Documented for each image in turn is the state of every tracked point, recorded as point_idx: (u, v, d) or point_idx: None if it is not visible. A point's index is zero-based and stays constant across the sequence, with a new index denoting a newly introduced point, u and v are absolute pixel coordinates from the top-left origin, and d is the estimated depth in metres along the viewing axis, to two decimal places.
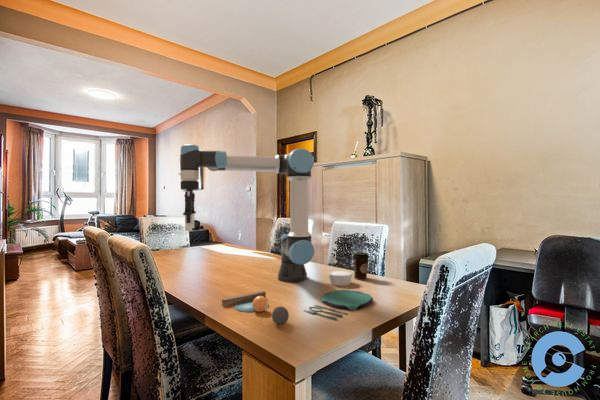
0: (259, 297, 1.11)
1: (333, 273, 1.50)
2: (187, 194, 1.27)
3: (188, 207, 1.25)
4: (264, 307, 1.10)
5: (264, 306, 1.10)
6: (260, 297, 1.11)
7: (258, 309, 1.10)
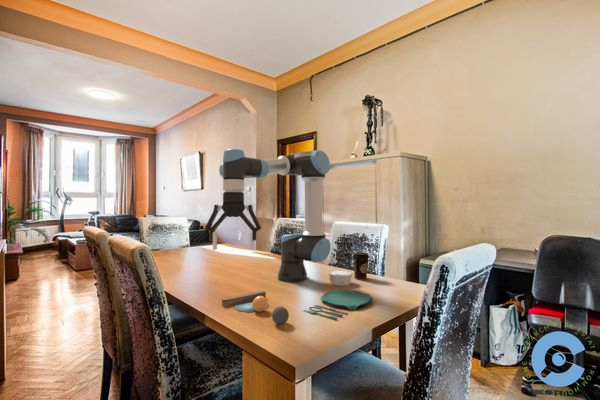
0: (259, 297, 1.11)
1: (333, 273, 1.50)
2: None
3: None
4: (264, 307, 1.10)
5: (264, 306, 1.10)
6: (260, 297, 1.11)
7: (258, 309, 1.10)
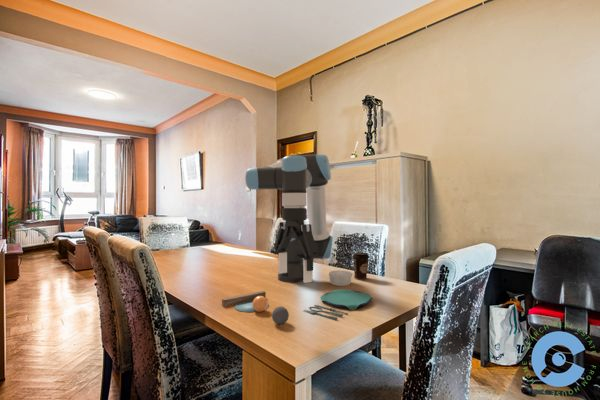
0: (259, 297, 1.11)
1: (333, 273, 1.50)
2: None
3: None
4: (264, 307, 1.10)
5: (264, 306, 1.10)
6: (260, 297, 1.11)
7: (258, 309, 1.10)
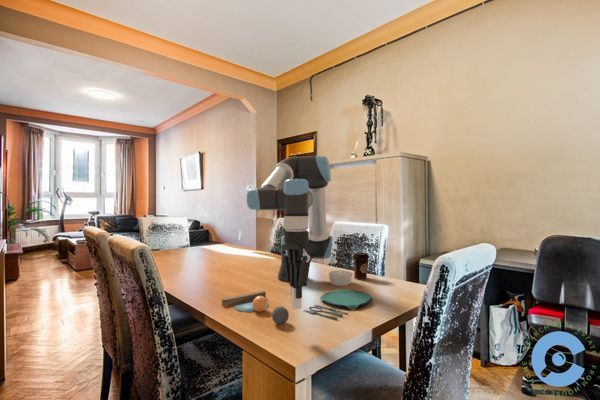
0: (259, 297, 1.11)
1: (333, 273, 1.50)
2: None
3: None
4: (264, 307, 1.10)
5: (264, 306, 1.10)
6: (260, 297, 1.11)
7: (258, 309, 1.10)
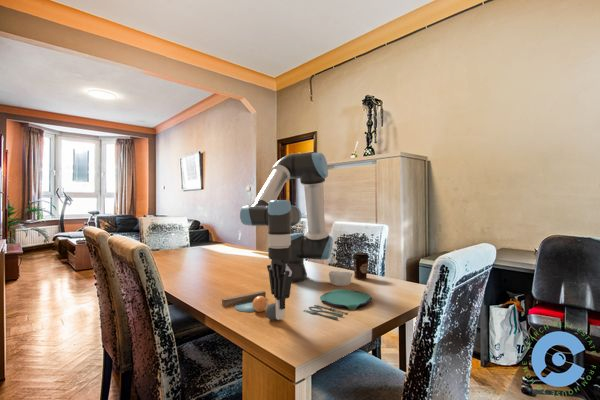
0: (259, 297, 1.11)
1: (333, 273, 1.50)
2: None
3: None
4: (264, 307, 1.10)
5: (264, 306, 1.10)
6: (260, 297, 1.11)
7: (258, 309, 1.10)
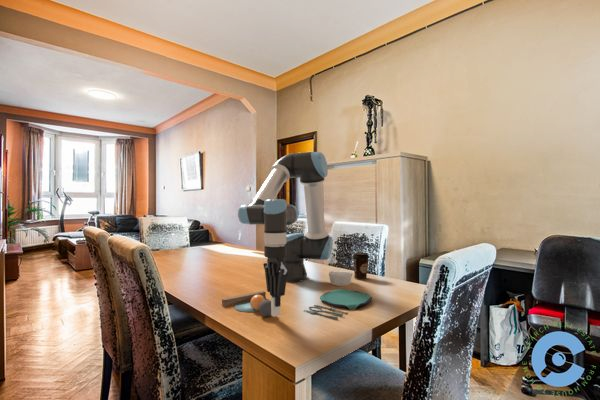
0: (255, 295, 1.14)
1: (333, 273, 1.50)
2: None
3: None
4: None
5: (261, 300, 1.12)
6: (256, 295, 1.14)
7: (256, 304, 1.11)
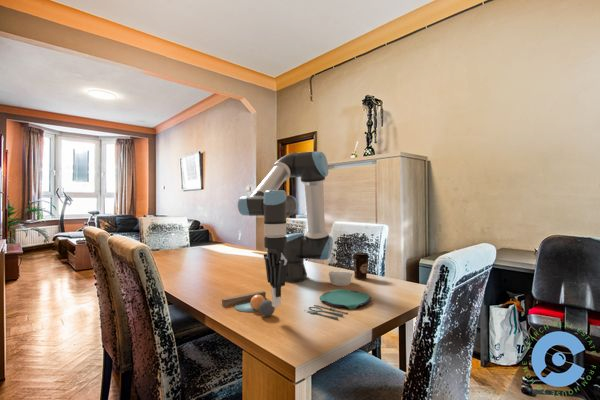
0: (255, 295, 1.14)
1: (333, 273, 1.50)
2: None
3: None
4: None
5: (261, 300, 1.12)
6: (256, 295, 1.14)
7: (256, 304, 1.11)
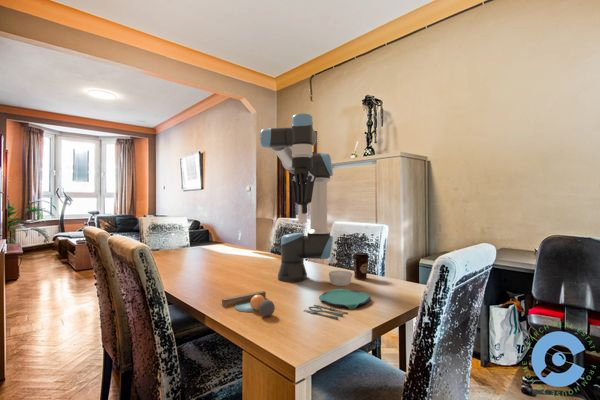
0: (255, 295, 1.14)
1: (333, 273, 1.50)
2: None
3: None
4: None
5: (261, 300, 1.12)
6: (256, 295, 1.14)
7: (256, 304, 1.11)
